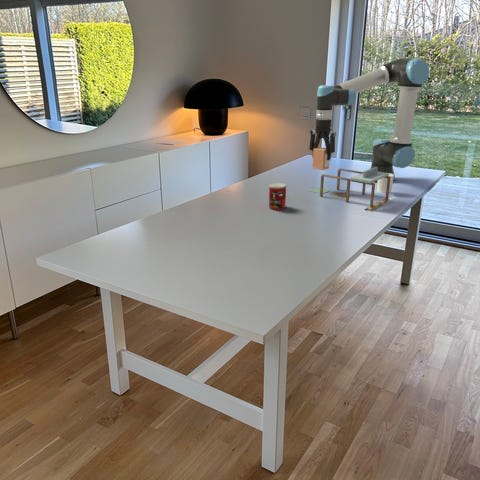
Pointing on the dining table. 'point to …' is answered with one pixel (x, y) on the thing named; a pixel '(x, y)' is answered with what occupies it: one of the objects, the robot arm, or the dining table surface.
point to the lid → (370, 175)
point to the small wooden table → (342, 195)
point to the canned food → (277, 196)
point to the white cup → (385, 184)
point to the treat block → (319, 158)
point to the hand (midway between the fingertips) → (320, 165)
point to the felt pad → (317, 190)
